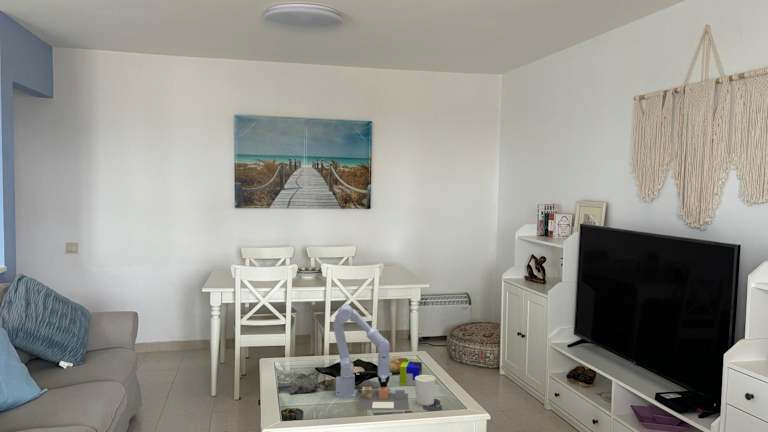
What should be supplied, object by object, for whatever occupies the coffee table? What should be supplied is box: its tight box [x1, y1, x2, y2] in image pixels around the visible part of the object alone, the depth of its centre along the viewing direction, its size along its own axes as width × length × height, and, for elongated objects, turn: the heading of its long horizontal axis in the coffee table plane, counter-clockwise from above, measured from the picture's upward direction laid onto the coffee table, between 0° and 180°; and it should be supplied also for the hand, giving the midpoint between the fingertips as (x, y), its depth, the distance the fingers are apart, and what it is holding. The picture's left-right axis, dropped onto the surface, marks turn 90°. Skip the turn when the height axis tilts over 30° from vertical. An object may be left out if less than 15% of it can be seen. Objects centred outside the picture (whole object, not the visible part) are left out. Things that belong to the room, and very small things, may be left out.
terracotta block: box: [378, 386, 389, 399], centre depth 282 cm, size 4×4×4 cm
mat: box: [356, 392, 410, 411], centre depth 277 cm, size 24×22×1 cm
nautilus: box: [389, 356, 414, 374], centre depth 324 cm, size 8×22×15 cm
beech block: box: [361, 386, 373, 399], centre depth 282 cm, size 4×4×4 cm
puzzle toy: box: [399, 361, 423, 387], centre depth 305 cm, size 10×10×10 cm
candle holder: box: [415, 374, 437, 406], centre depth 276 cm, size 10×10×12 cm
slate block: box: [394, 386, 406, 399], centre depth 282 cm, size 4×4×4 cm
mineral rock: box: [290, 372, 320, 395], centre depth 290 cm, size 13×11×10 cm
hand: (383, 391), depth 288 cm, fingers closed
